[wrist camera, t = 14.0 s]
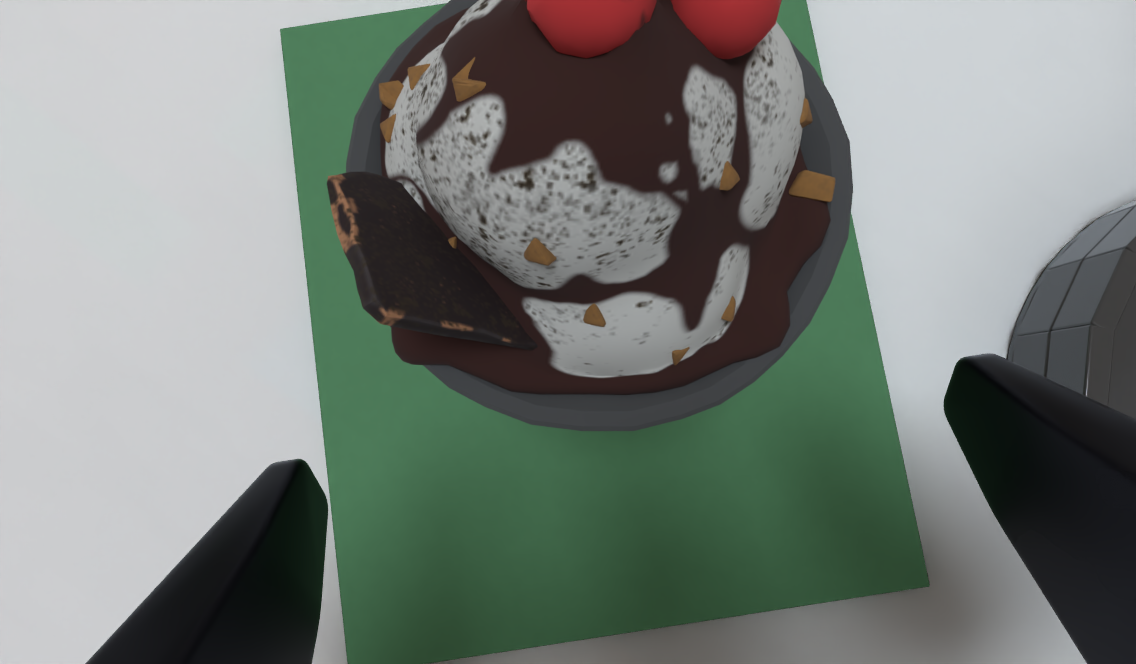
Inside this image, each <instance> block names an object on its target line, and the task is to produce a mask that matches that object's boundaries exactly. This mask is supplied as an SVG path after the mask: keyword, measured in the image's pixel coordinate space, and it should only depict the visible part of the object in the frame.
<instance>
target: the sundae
mask: <svg viewBox="0 0 1136 664" xmlns="http://www.w3.org/2000/svg"><path fill="white" fill-rule="evenodd" d="M781 1H782V0H451V1H449V2H448V3H447V4H446V5H445V6H443V7H442V8H441V9H440V10H439V11H437V12H436V13H435V14H434V15H433V16H431V17H430V18H429V19H428V20H426V21H425V22H424V23H423V24H422V25H421V26H420V27H419V28H418V29H416V30H415V31H414V32H413V33H412V34H411V35H410V36H409V37H408V38H407V39H406V40H405V41H404V42H403V43H401V44H400V45H399V46H398V47H397V48H396V49H395V51H394V52H393V54H392V55H391V56H390V58H389V59H388V60H387V62H386V63H385V65H384V66H383V67H382V69H381V70H380V72H379V73H378V74H377V76H376V77H375V79H374V81H373V83H372V85H371V86H370V88H369V90H368V92H367V94H366V96H365V98H364V100H363V102H362V104H361V106H360V108H359V110H358V112H357V113H356V115H355V118H354V123H353V129H352V134H351V139H350V145H349V150H348V155H347V160H346V173H342V174H338V175H331V176H328V180H327V188H328V194H329V199H330V205H331V210H332V215H333V219H334V223H335V227H336V231H337V235H338V238H339V240H340V243H341V245H342V248H343V251H344V253H345V255H346V257H347V259H348V261H349V263H350V265H351V267H352V269H353V271H354V276H355V281H356V286H357V290H358V294H359V297H360V300H361V304H362V307H363V309H364V310H365V311H366V312H367V313H369V314H370V315H371V316H372V317H373V318H374V319H375V320H376V321H377V322H379V323H380V324H383V325H388V326H390V327H391V335H392V343H393V346H394V350H395V353H396V354H397V355H398V356H399V358H400V359H401V360H402V361H403V362H406V363H409V364H412V365H423V366H424V367H425V368H426V369H428V370H429V371H430V372H431V373H432V374H433V375H435V376H436V377H437V378H438V379H439V380H440V381H442V382H443V383H444V384H445V385H446V386H447V387H449V388H450V389H452V390H454V391H456V392H458V393H460V394H461V395H463V396H465V397H467V398H469V399H471V400H473V401H475V402H476V403H478V404H480V405H482V406H484V407H486V408H489V409H492V410H494V411H497V412H499V413H502V414H505V415H507V416H510V417H512V418H515V419H518V420H520V421H523V422H525V423H528V424H531V425H537V426H545V427H553V428H561V429H569V430H577V431H636V430H640V429H644V428H648V427H652V426H656V425H660V424H664V423H668V422H672V421H676V420H681V419H684V418H686V417H689V416H692V415H694V414H697V413H700V412H702V411H705V410H707V409H710V408H713V407H715V406H718V405H721V404H722V403H724V402H725V401H727V400H728V399H730V398H731V397H733V396H734V395H736V394H737V393H739V392H740V391H742V390H743V389H745V388H746V387H748V386H749V385H751V384H752V383H754V382H755V381H756V380H757V379H758V378H759V377H760V376H762V375H763V374H764V373H765V372H766V371H767V370H768V369H769V368H770V367H771V366H773V365H774V364H775V363H776V362H777V361H778V360H779V359H780V358H781V357H782V356H783V355H784V354H785V353H786V352H787V350H788V349H789V348H790V347H791V346H792V344H793V343H794V342H795V341H796V339H797V338H798V337H799V336H800V335H801V333H802V332H803V331H804V330H805V329H806V327H807V326H808V325H809V324H810V322H811V320H812V318H813V316H814V315H815V313H816V311H817V309H818V307H819V305H820V303H821V301H822V300H823V298H824V296H825V294H826V292H827V290H828V288H829V286H830V284H831V282H832V279H833V276H834V274H835V271H836V269H837V266H838V263H839V261H840V258H841V255H842V253H843V250H844V248H845V245H846V242H847V240H848V236H849V225H850V215H851V204H852V193H853V182H852V169H851V156H850V142H849V139H848V137H847V134H846V132H845V129H844V126H843V124H842V121H841V119H840V116H839V114H838V111H837V109H836V106H835V104H834V101H833V99H832V97H831V95H830V94H829V92H828V90H827V89H826V87H825V85H824V83H823V82H822V80H821V78H820V77H819V75H818V73H817V71H816V70H815V68H814V67H813V66H812V65H811V63H810V62H809V61H808V60H807V59H806V58H805V57H804V56H803V54H802V53H801V52H800V51H799V50H798V49H797V48H796V47H795V45H794V44H793V43H792V42H791V41H790V40H789V39H788V37H787V36H786V34H785V33H784V31H783V30H782V29H781V27H780V26H779V24H778V23H777V17H778V13H779V9H780V5H781Z"/></svg>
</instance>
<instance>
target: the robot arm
mask: <svg viewBox="0 0 1136 664" xmlns="http://www.w3.org/2000/svg"><path fill="white" fill-rule="evenodd" d="M944 412H945V416H946V418H947V420H948V422H949V424H950V426H951V429H952V431H953V433H954V435H955V437H956V439H957V441H958V443H959V445H960V447H961V449H962V451H963V453H964V455H965V457H966V459H967V461H968V463H969V465H970V468H971V470H972V472H973V474H974V476H975V478H976V480H977V482H978V484H979V486H980V488H981V490H982V492H983V494H984V496H985V498H986V500H987V502H988V504H989V506H990V508H991V510H992V512H993V513H994V515H995V517H996V519H997V520H998V522H999V524H1000V525H1001V527H1002V529H1003V530H1004V532H1005V534H1006V535H1007V537H1008V538H1009V540H1010V541H1011V543H1012V545H1013V546H1014V548H1015V549H1016V551H1017V553H1018V554H1019V556H1020V557H1021V559H1022V561H1023V562H1024V564H1025V565H1026V567H1027V569H1028V570H1029V572H1030V573H1031V575H1032V577H1033V578H1034V580H1035V581H1036V583H1037V584H1038V586H1039V588H1040V589H1041V591H1042V592H1043V594H1044V596H1045V597H1046V599H1047V600H1048V602H1049V604H1050V605H1051V607H1052V608H1053V610H1054V612H1055V613H1056V615H1057V616H1058V618H1059V620H1060V621H1061V623H1062V624H1063V626H1064V627H1065V629H1066V631H1067V632H1068V634H1069V635H1070V637H1071V639H1072V640H1073V642H1074V643H1075V645H1076V647H1077V648H1078V650H1079V651H1080V653H1081V655H1082V656H1083V658H1084V659H1085V661H1086V663H1087V664H1136V419H1134V418H1132V417H1130V416H1128V415H1125V414H1123V413H1121V412H1119V411H1117V410H1115V409H1112V408H1110V407H1108V406H1106V405H1104V404H1102V403H1100V402H1097V401H1095V400H1093V399H1091V398H1089V397H1087V396H1085V395H1082V394H1080V393H1078V392H1076V391H1074V390H1072V389H1069V388H1067V387H1065V386H1063V385H1061V384H1059V383H1057V382H1054V381H1052V380H1050V379H1048V378H1046V377H1044V376H1041V375H1039V374H1037V373H1035V372H1033V371H1031V370H1029V369H1026V368H1024V367H1022V366H1020V365H1018V364H1016V363H1013V362H1011V361H1009V360H1007V359H1005V358H1003V357H1001V356H998V355H996V354H981V355H975V356H968V357H964V358H961V359H960V360H959V361H958V362H957V363H956V365H955V368H954V371H953V374H952V377H951V380H950V383H949V386H948V389H947V392H946V395H945V398H944ZM327 519H328V504H327V499H326V496H325V494H324V492H323V490H322V488H321V486H320V485H319V483H318V481H317V479H316V478H315V476H314V474H313V472H312V471H311V469H310V467H309V465H308V464H307V463H306V462H305V461H304V460H302V459H294V460H288V461H281V462H276V463H273V464H271V465H270V466H268V467H267V468H266V469H265V470H264V472H263V473H262V474H261V475H260V476H259V477H258V478H257V479H256V480H255V481H254V482H253V483H252V484H251V486H250V487H249V488H248V489H247V490H246V491H245V492H244V493H243V494H242V495H241V496H240V497H239V499H238V500H237V501H236V502H235V503H234V504H233V505H232V506H231V507H230V508H229V509H228V510H227V511H226V513H225V514H224V515H223V516H222V517H221V518H220V519H219V520H218V521H217V522H216V523H215V524H214V526H213V527H212V528H211V529H210V530H209V531H208V532H207V533H206V534H205V535H204V536H203V537H202V538H201V540H200V541H199V542H198V543H197V544H196V545H195V546H194V547H193V548H192V549H191V550H190V551H189V553H188V554H187V555H186V556H185V557H184V558H183V559H182V560H181V561H180V562H179V563H178V564H177V565H176V567H175V568H174V569H173V570H172V571H171V572H170V573H169V574H168V575H167V576H166V577H165V578H164V580H163V581H162V582H161V583H160V584H159V585H158V586H157V587H156V588H155V589H154V590H153V591H152V592H151V594H150V595H149V596H148V597H147V598H146V599H145V600H144V601H143V602H142V603H141V604H140V605H139V607H138V608H137V609H136V610H135V611H134V612H133V613H132V614H131V615H130V616H129V617H128V618H127V619H126V621H125V622H124V623H123V624H122V625H121V626H120V627H119V628H118V629H117V630H116V631H115V632H114V634H113V635H112V636H111V637H110V638H109V639H108V640H107V641H106V642H105V643H104V644H103V645H102V646H101V648H100V649H99V650H98V651H97V652H96V653H95V654H94V655H93V656H92V657H91V658H90V659H89V661H88V662H87V663H86V664H312V659H313V653H314V648H315V643H316V637H317V632H318V625H319V619H320V610H321V601H322V587H323V574H324V560H325V547H326V533H327Z"/></svg>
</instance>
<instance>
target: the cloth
mask: <svg viewBox="0 0 1136 664" xmlns="http://www.w3.org/2000/svg"><path fill="white" fill-rule="evenodd" d="M446 4H447V3H445V4H439V5H433V6H426V7H420V8H413V9H407V10H400V11H394V12H387V13H381V14H374V15H368V16H361V17H355V18H348V19H342V20H336V21H329V22H323V23H316V24H310V25H303V26H297V27H290V28H284V29H280V32H281V42H282V51H283V61H284V70H285V79H286V89H287V98H288V108H289V117H290V126H291V136H292V145H293V155H294V164H295V173H296V183H297V192H298V202H299V211H300V220H301V230H302V239H303V249H304V258H305V267H306V277H307V286H308V296H309V305H310V314H311V324H312V333H313V343H314V352H315V361H316V371H317V380H318V390H319V399H320V408H321V418H322V427H323V436H324V446H325V455H326V465H327V474H328V483H329V493H330V502H331V512H332V521H333V530H334V540H335V549H336V559H337V568H338V577H339V587H340V596H341V606H342V615H343V624H344V634H345V643H346V653H347V662H348V664H427V663H434V662H440V661H447V660H453V659H460V658H466V657H473V656H479V655H486V654H492V653H499V652H505V651H512V650H518V649H525V648H532V647H538V646H545V645H551V644H558V643H564V642H571V641H577V640H584V639H590V638H597V637H603V636H610V635H616V634H623V633H629V632H636V631H642V630H649V629H655V628H662V627H668V626H675V625H681V624H688V623H694V622H701V621H707V620H714V619H720V618H727V617H733V616H740V615H746V614H753V613H759V612H766V611H772V610H779V609H785V608H792V607H798V606H805V605H811V604H818V603H825V602H831V601H838V600H844V599H851V598H857V597H864V596H870V595H877V594H883V593H890V592H896V591H903V590H909V589H916V588H922V587H929V586H930V584H929V580H928V575H927V570H926V565H925V561H924V556H923V551H922V546H921V542H920V537H919V532H918V527H917V523H916V518H915V513H914V509H913V504H912V499H911V494H910V490H909V485H908V480H907V475H906V471H905V466H904V461H903V456H902V452H901V447H900V442H899V438H898V433H897V428H896V423H895V419H894V414H893V409H892V404H891V400H890V395H889V390H888V385H887V381H886V376H885V371H884V367H883V362H882V357H881V352H880V348H879V343H878V338H877V333H876V329H875V324H874V319H873V314H872V310H871V305H870V300H869V296H868V291H867V286H866V281H865V277H864V272H863V267H862V262H861V258H860V253H859V248H858V243H857V239H856V234H855V229H854V225H853V220H852V215H850V225H849V236H848V240H847V242H846V245H845V248H844V250H843V253H842V255H841V258H840V261H839V263H838V266H837V269H836V271H835V274H834V276H833V279H832V282H831V284H830V286H829V288H828V290H827V292H826V294H825V296H824V298H823V300H822V301H821V303H820V305H819V307H818V309H817V311H816V313H815V315H814V316H813V318H812V320H811V322H810V324H809V325H808V326H807V327H806V329H805V330H804V331H803V332H802V333H801V335H800V336H799V337H798V338H797V339H796V341H795V342H794V343H793V344H792V346H791V347H790V348H789V349H788V350H787V352H786V353H785V354H784V355H783V356H782V357H781V358H780V359H779V360H778V361H777V362H776V363H775V364H774V365H773V366H771V367H770V368H769V369H768V370H767V371H766V372H765V373H764V374H763V375H762V376H760V377H759V378H758V379H757V380H756V381H755V382H754V383H752V384H751V385H749V386H748V387H746V388H745V389H743V390H742V391H740V392H739V393H737V394H736V395H734V396H733V397H731V398H730V399H728V400H727V401H725V402H724V403H722V404H721V405H718V406H715V407H713V408H710V409H707V410H705V411H702V412H700V413H697V414H694V415H692V416H689V417H686V418H684V419H681V420H676V421H672V422H668V423H664V424H660V425H656V426H652V427H648V428H644V429H640V430H636V431H577V430H569V429H561V428H553V427H545V426H537V425H531V424H528V423H525V422H523V421H520V420H518V419H515V418H512V417H510V416H507V415H505V414H502V413H499V412H497V411H494V410H492V409H489V408H486V407H484V406H482V405H480V404H478V403H476V402H475V401H473V400H471V399H469V398H467V397H465V396H463V395H461V394H460V393H458V392H456V391H454V390H452V389H450V388H449V387H447V386H446V385H445V384H444V383H443V382H442V381H440V380H439V379H438V378H437V377H436V376H435V375H433V374H432V373H431V372H430V371H429V370H428V369H426V368H425V367H424V366H423V365H412V364H409V363H406V362H403V361H402V360H401V359H400V358H399V356H398V355H397V354H396V353H395V350H394V346H393V343H392V335H391V327H390V326H388V325H383V324H380V323H379V322H377V321H376V320H375V319H374V318H373V317H372V316H371V315H370V314H369V313H367V312H366V311H365V310H364V309H363V307H362V304H361V300H360V297H359V294H358V290H357V286H356V281H355V276H354V271H353V269H352V267H351V265H350V263H349V261H348V259H347V257H346V255H345V253H344V251H343V248H342V245H341V243H340V240H339V238H338V235H337V231H336V227H335V223H334V219H333V215H332V210H331V205H330V199H329V194H328V188H327V180H328V176H331V175H338V174H342V173H346V160H347V155H348V150H349V145H350V139H351V134H352V129H353V123H354V118H355V115H356V113H357V112H358V110H359V108H360V106H361V104H362V102H363V100H364V98H365V96H366V94H367V92H368V90H369V88H370V86H371V85H372V83H373V81H374V79H375V77H376V76H377V74H378V73H379V72H380V70H381V69H382V67H383V66H384V65H385V63H386V62H387V60H388V59H389V58H390V56H391V55H392V54H393V52H394V51H395V49H396V48H397V47H398V46H399V45H400V44H401V43H403V42H404V41H405V40H406V39H407V38H408V37H409V36H410V35H411V34H412V33H413V32H414V31H415V30H416V29H418V28H419V27H420V26H421V25H422V24H423V23H424V22H425V21H426V20H428V19H429V18H430V17H431V16H433V15H434V14H435V13H436V12H437V11H439V10H440V9H441V8H442V7H443V6H445V5H446ZM777 23H778V24H779V26H780V27H781V29H782V30H783V31H784V33H785V34H786V36H787V37H788V39H789V40H790V41H791V42H792V43H793V44H794V45H795V47H796V48H797V49H798V50H799V51H800V52H801V53H802V54H803V56H804V57H805V58H806V59H807V60H808V61H809V62H810V63H811V65H812V66H813V67H814V68H815V70H816V71H817V73H818V75H819V77H820V78H821V80H822V82H823V78H822V73H821V68H820V64H819V59H818V54H817V49H816V45H815V40H814V35H813V30H812V26H811V21H810V16H809V11H808V7H807V2H806V0H782V1H781V5H780V9H779V13H778V17H777ZM823 83H824V82H823Z"/></svg>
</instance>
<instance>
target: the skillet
mask: <svg viewBox="0 0 1136 664" xmlns="http://www.w3.org/2000/svg"><path fill="white" fill-rule="evenodd" d="M1007 360H1009V361H1011V362H1013V363H1016V364H1018V365H1020V366H1022V367H1024V368H1026V369H1029V370H1031V371H1033V372H1035V373H1037V374H1039V375H1041V376H1044V377H1046V378H1048V379H1050V380H1052V381H1054V382H1057V383H1059V384H1061V385H1063V386H1065V387H1067V388H1069V389H1072V390H1074V391H1076V392H1078V393H1080V394H1082V395H1085V396H1087V397H1089V398H1091V399H1093V400H1095V401H1097V402H1100V403H1102V404H1104V405H1106V406H1108V407H1110V408H1112V409H1115V410H1117V411H1119V412H1121V413H1123V414H1125V415H1128V416H1130V417H1132V418H1134V419H1136V200H1134V201H1132V202H1130V203H1128V204H1125V205H1123V206H1121V207H1119V208H1117V209H1115V210H1113V211H1111V212H1109V213H1108V214H1106V215H1104V216H1102V217H1100V218H1098V219H1097V220H1095V221H1094V222H1093V223H1092V224H1091V225H1089V226H1088V227H1086V228H1085V229H1084V230H1083V231H1082V232H1081V233H1079V234H1078V235H1077V236H1076V237H1075V238H1074V239H1073V240H1071V241H1070V242H1069V243H1068V244H1067V245H1066V246H1065V247H1064V248H1063V249H1062V250H1061V251H1060V252H1059V254H1058V255H1057V256H1056V257H1055V258H1054V259H1053V261H1052V262H1051V263H1050V264H1049V265H1048V266H1047V268H1046V269H1045V270H1044V272H1043V273H1042V275H1041V276H1040V278H1039V280H1038V281H1037V283H1036V284H1035V286H1034V287H1033V289H1032V291H1031V292H1030V294H1029V296H1028V298H1027V300H1026V303H1025V305H1024V307H1023V309H1022V312H1021V314H1020V316H1019V318H1018V320H1017V324H1016V327H1015V330H1014V334H1013V337H1012V341H1011V344H1010V348H1009V352H1008V359H1007Z"/></svg>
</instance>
